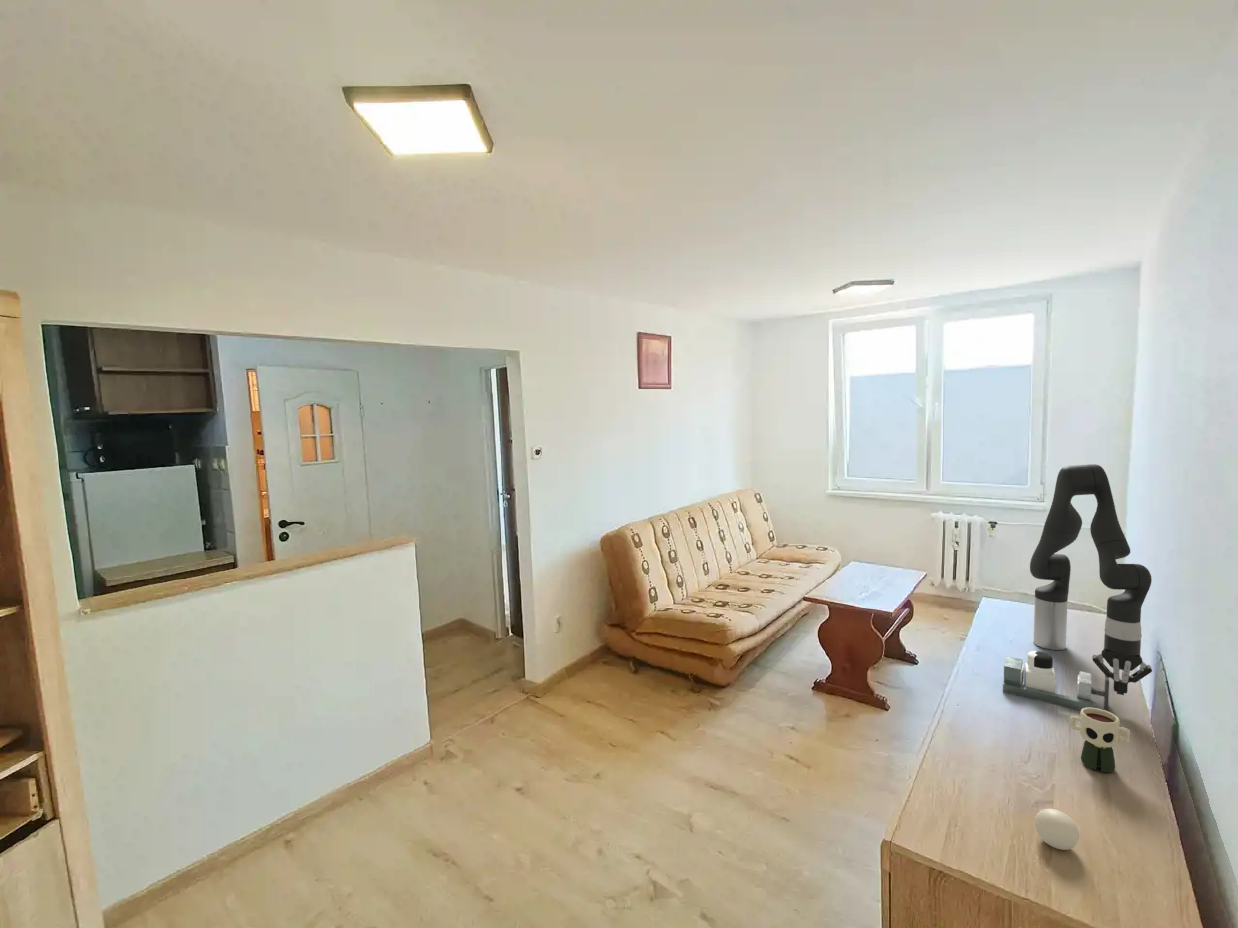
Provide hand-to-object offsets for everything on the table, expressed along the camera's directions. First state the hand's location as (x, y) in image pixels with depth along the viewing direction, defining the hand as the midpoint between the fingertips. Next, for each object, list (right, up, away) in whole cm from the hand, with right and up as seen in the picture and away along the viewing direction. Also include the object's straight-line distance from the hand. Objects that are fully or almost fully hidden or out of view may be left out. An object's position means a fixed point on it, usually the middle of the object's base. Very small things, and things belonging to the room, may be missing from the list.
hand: (1120, 693), depth 157 cm
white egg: (-53, -12, -45) cm, 71 cm away
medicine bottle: (-14, -5, +12) cm, 19 cm away
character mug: (-26, -9, -22) cm, 35 cm away
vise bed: (-13, -5, +10) cm, 17 cm away
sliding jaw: (-4, -5, +4) cm, 8 cm away
